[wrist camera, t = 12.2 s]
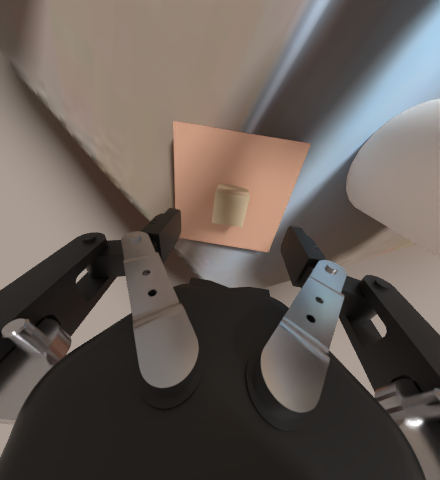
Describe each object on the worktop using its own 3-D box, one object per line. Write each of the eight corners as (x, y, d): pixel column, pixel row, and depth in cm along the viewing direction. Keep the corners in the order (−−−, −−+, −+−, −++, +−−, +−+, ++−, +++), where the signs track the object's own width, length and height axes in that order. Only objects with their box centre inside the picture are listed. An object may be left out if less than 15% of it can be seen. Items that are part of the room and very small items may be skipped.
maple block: (247, 187, 27) (249, 197, 22) (241, 214, 29) (242, 227, 25) (218, 183, 27) (215, 191, 22) (215, 210, 29) (211, 222, 25)
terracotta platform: (301, 142, 26) (311, 143, 23) (265, 241, 37) (268, 252, 34) (181, 123, 26) (173, 121, 22) (181, 228, 37) (176, 237, 34)
